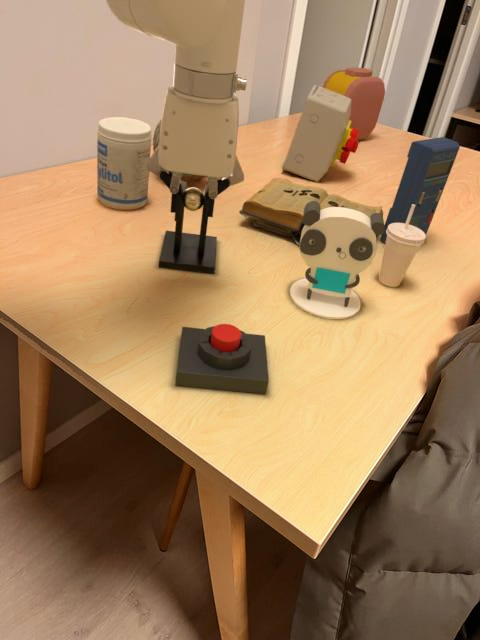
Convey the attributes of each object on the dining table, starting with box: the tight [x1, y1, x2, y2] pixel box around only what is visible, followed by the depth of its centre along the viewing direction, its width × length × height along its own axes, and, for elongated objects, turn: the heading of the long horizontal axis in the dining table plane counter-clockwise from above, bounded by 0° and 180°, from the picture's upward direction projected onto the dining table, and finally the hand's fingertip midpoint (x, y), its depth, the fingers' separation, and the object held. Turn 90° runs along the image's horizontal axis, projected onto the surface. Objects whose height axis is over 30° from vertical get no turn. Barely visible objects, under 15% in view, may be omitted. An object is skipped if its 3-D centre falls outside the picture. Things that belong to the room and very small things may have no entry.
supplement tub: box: [96, 116, 152, 211], centre depth 99 cm, size 10×10×15 cm
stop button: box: [211, 323, 242, 352], centre depth 65 cm, size 4×4×2 cm
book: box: [238, 177, 384, 246], centre depth 103 cm, size 25×17×6 cm
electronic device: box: [380, 136, 461, 244], centre depth 101 cm, size 10×5×20 cm, turn 129°
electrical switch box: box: [281, 84, 360, 183], centre depth 128 cm, size 15×15×20 cm
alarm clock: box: [322, 67, 386, 141], centre depth 158 cm, size 18×11×19 cm, turn 130°
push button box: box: [174, 325, 270, 395], centre depth 66 cm, size 11×9×4 cm
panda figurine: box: [289, 201, 385, 320], centre depth 80 cm, size 12×11×15 cm
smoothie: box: [378, 204, 427, 288], centre depth 88 cm, size 6×6×14 cm
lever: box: [182, 186, 205, 212], centre depth 79 cm, size 13×3×3 cm, turn 1°
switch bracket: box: [158, 180, 218, 275], centre depth 86 cm, size 11×9×12 cm
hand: (191, 217), depth 76 cm, fingers closed on lever, 3 cm apart
